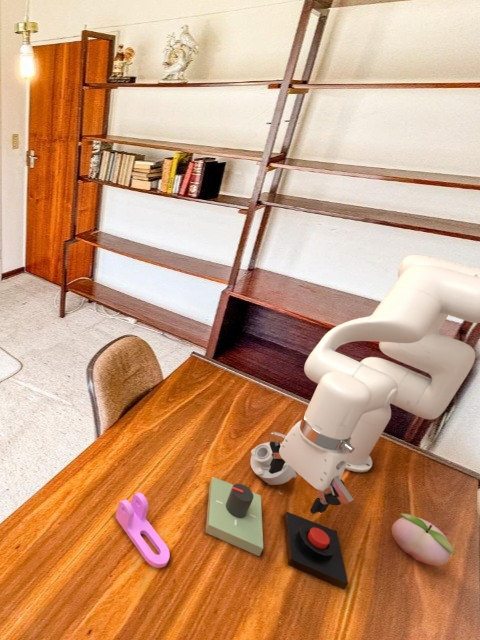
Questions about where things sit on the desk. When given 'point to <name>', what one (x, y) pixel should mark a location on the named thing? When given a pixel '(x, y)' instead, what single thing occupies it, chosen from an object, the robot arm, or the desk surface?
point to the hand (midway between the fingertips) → (294, 490)
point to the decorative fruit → (422, 540)
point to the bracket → (142, 530)
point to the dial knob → (239, 500)
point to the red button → (318, 538)
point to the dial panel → (234, 519)
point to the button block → (314, 551)
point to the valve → (262, 465)
